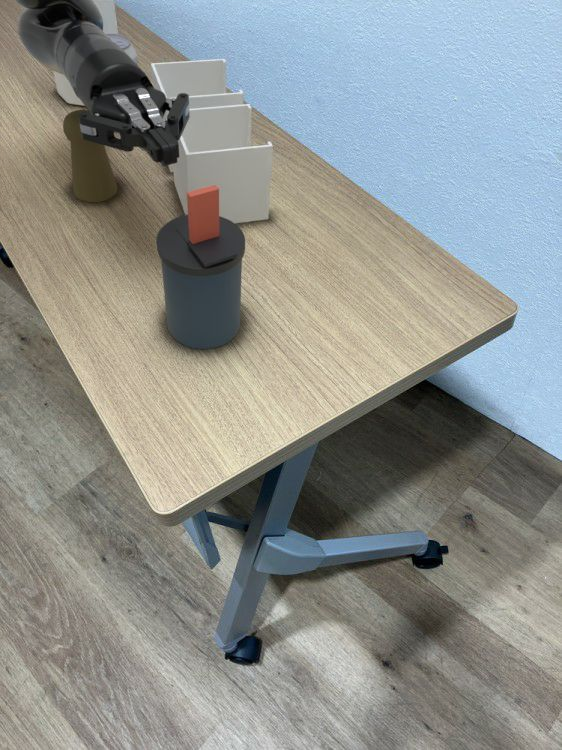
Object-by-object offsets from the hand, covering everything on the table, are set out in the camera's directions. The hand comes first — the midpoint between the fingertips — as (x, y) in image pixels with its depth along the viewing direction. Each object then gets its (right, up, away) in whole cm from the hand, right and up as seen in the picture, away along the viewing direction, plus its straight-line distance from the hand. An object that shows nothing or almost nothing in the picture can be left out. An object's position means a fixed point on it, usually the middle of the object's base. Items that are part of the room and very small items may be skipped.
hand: (170, 156), depth 62 cm
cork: (-15, +4, +26) cm, 30 cm away
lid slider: (+4, -10, -1) cm, 10 cm away
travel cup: (+2, -16, +10) cm, 19 cm away
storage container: (0, +8, +30) cm, 31 cm away
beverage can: (-15, +20, +38) cm, 46 cm away
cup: (-21, +26, +44) cm, 55 cm away
